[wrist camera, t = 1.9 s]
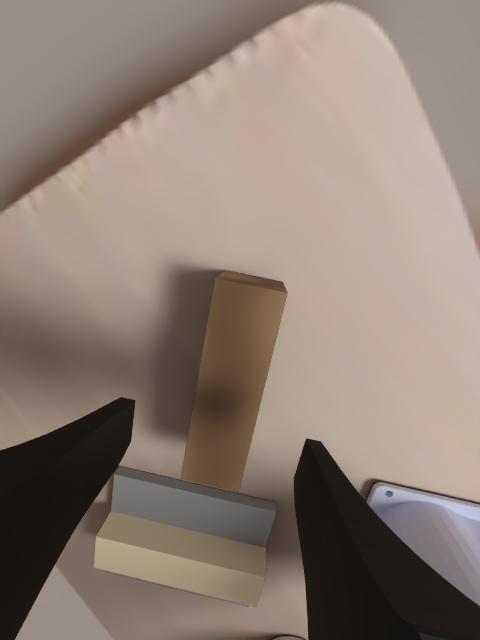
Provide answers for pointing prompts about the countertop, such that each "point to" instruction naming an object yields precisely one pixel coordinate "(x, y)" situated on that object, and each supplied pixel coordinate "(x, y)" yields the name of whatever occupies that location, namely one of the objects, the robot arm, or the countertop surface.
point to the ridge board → (192, 508)
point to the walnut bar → (232, 377)
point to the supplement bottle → (287, 638)
